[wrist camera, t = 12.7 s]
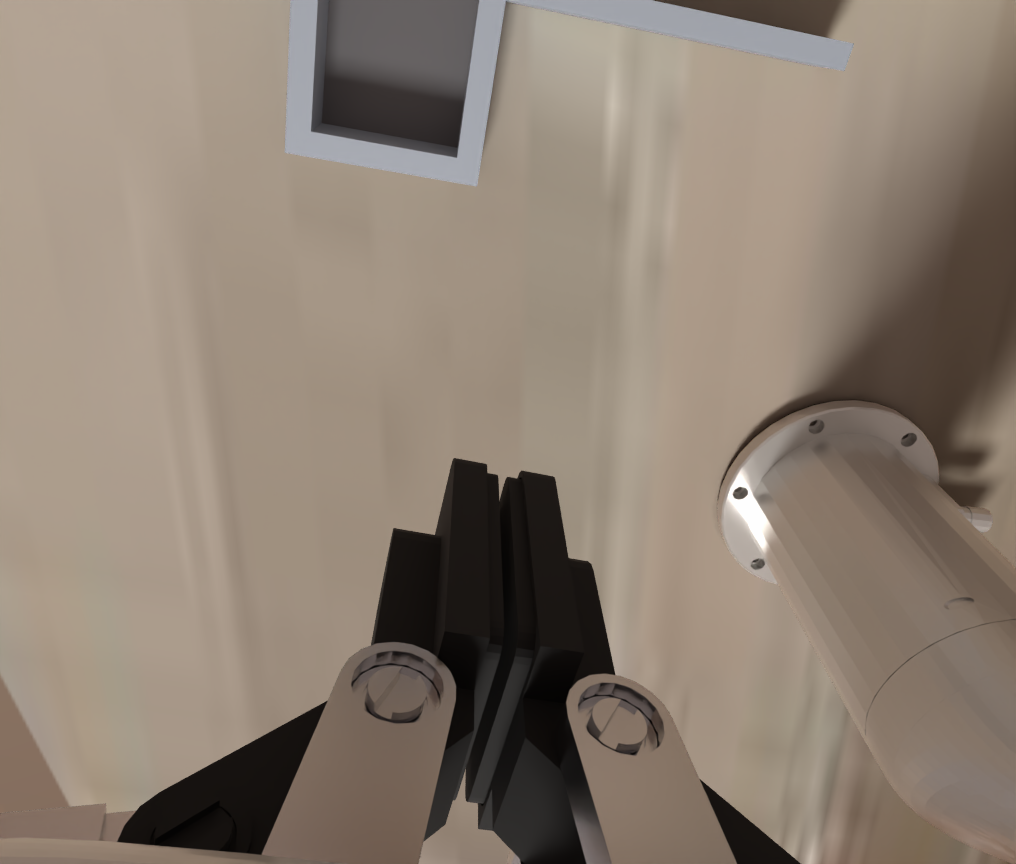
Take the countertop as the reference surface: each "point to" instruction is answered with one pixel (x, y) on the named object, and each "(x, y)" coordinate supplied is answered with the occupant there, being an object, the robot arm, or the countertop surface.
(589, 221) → the countertop surface
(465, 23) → the box
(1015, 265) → the countertop surface
